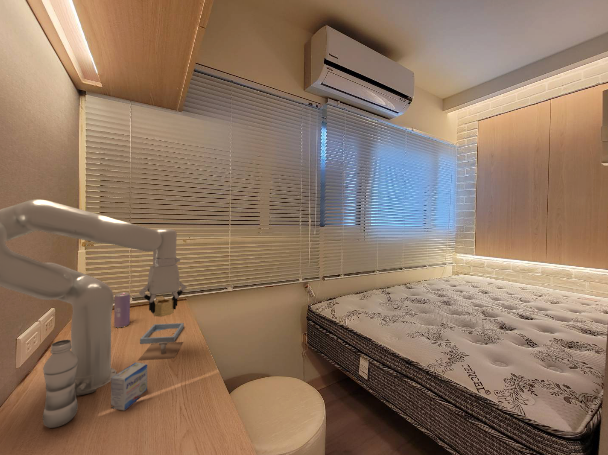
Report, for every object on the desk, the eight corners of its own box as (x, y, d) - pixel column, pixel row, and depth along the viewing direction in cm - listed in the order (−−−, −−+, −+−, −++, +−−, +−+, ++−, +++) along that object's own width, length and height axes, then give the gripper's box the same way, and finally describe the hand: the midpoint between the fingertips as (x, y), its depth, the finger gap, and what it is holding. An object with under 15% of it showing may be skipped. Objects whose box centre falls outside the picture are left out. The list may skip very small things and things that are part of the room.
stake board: (174, 360, 93) (174, 347, 93) (137, 363, 91) (137, 349, 91) (183, 344, 106) (183, 332, 106) (151, 346, 104) (151, 333, 103)
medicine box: (124, 411, 69) (124, 379, 68) (110, 408, 70) (110, 377, 69) (147, 392, 76) (148, 363, 76) (134, 390, 77) (135, 361, 77)
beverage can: (132, 323, 125) (133, 292, 124) (122, 328, 119) (123, 296, 118) (121, 322, 125) (121, 292, 125) (110, 327, 119) (111, 295, 119)
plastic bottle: (74, 408, 69) (75, 334, 69) (80, 421, 65) (81, 342, 64) (40, 422, 64) (41, 342, 64) (44, 437, 60) (44, 352, 59)
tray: (173, 344, 105) (174, 337, 105) (139, 346, 103) (140, 338, 103) (183, 329, 120) (183, 323, 120) (154, 330, 117) (154, 324, 117)
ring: (175, 313, 96) (175, 301, 96) (155, 317, 92) (155, 305, 91) (168, 306, 104) (168, 295, 104) (149, 309, 99) (149, 298, 99)
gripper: (186, 259, 104) (184, 303, 105) (135, 262, 93) (134, 312, 93) (192, 261, 99) (190, 308, 99) (138, 265, 87) (137, 318, 88)
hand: (163, 309), depth 96 cm, fingers closed on ring, 6 cm apart
